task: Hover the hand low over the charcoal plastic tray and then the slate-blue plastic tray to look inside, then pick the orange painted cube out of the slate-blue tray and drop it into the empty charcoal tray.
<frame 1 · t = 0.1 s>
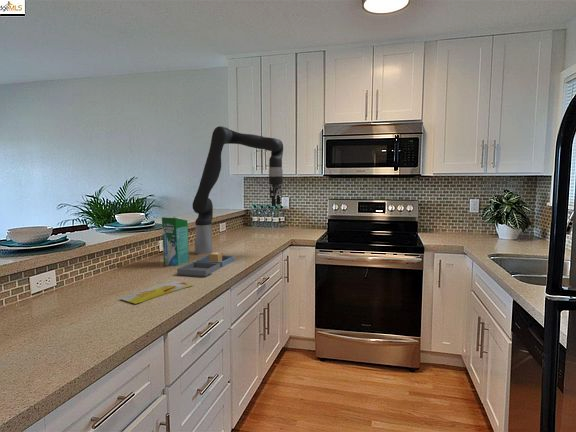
hand: (276, 205, 205), 29 cm above the worktop, tool pointing down, fingers open, 8 cm apart
orange cube: (215, 262, 193), point 1 cm above the worktop, touching slate-blue tray
slate-blue tray: (215, 264, 193), on the worktop
food package: (158, 294, 146), on the worktop
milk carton: (176, 264, 193), on the worktop
charcoal tray: (199, 272, 176), on the worktop
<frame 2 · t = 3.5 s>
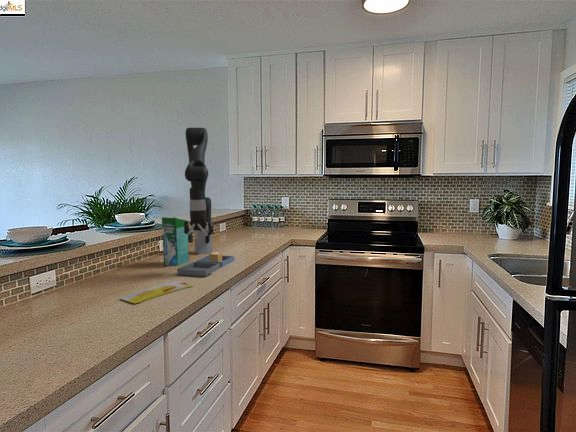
hand: (199, 243, 176), 14 cm above the worktop, tool pointing down, fingers open, 8 cm apart
nothing on the worktop moved.
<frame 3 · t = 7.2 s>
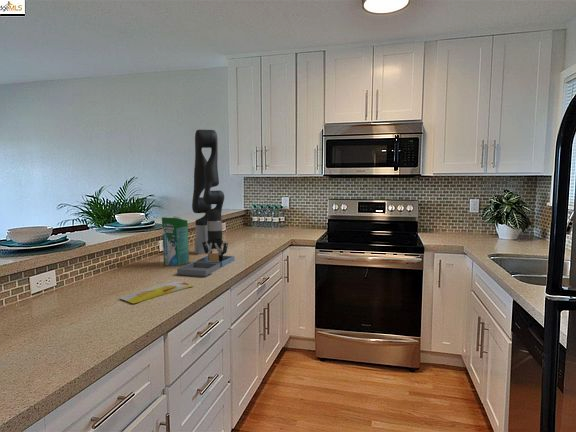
hand: (215, 261, 193), 1 cm above the worktop, tool pointing down, fingers closed on orange cube, 5 cm apart
orange cube: (215, 262, 193), point 1 cm above the worktop, touching gripper, slate-blue tray
everything else where it was.
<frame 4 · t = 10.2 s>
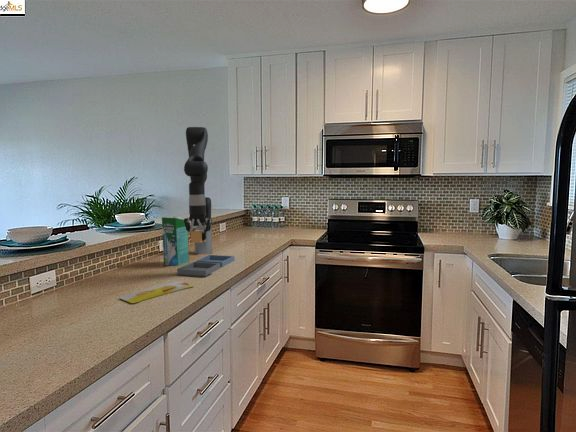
hand: (198, 240, 175), 16 cm above the worktop, tool pointing down, fingers closed on orange cube, 5 cm apart
orange cube: (198, 241, 175), point 15 cm above the worktop, touching gripper
everything else where it was.
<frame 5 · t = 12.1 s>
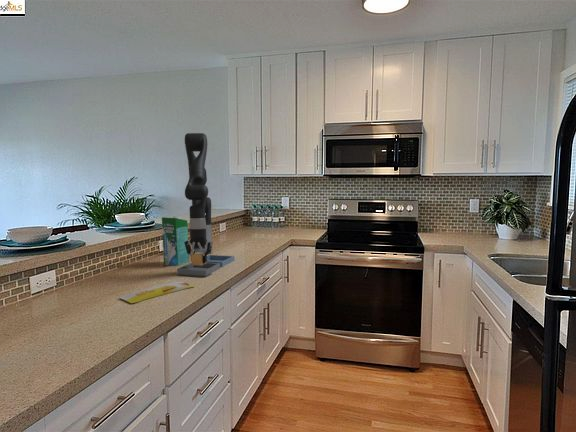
hand: (199, 262, 176), 5 cm above the worktop, tool pointing down, fingers closed on orange cube, 5 cm apart
orange cube: (199, 264, 176), point 4 cm above the worktop, touching gripper
everything else where it was.
when the fingers open (3 cm above the worktop, at t = 13.4 s): orange cube drops 1 cm, resting on charcoal tray.
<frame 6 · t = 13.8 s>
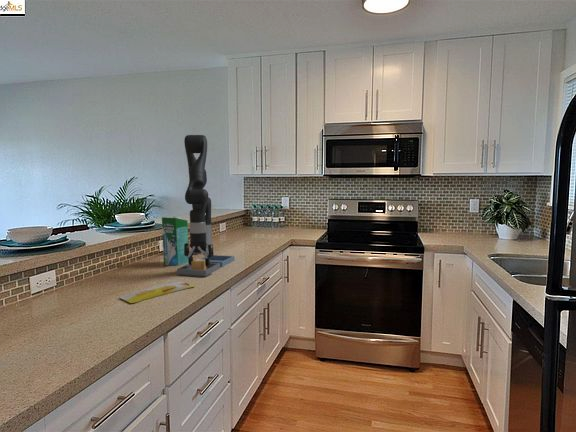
hand: (199, 265, 176), 3 cm above the worktop, tool pointing down, fingers open, 8 cm apart
orange cube: (199, 270, 176), point 1 cm above the worktop, touching charcoal tray
everything else where it was.
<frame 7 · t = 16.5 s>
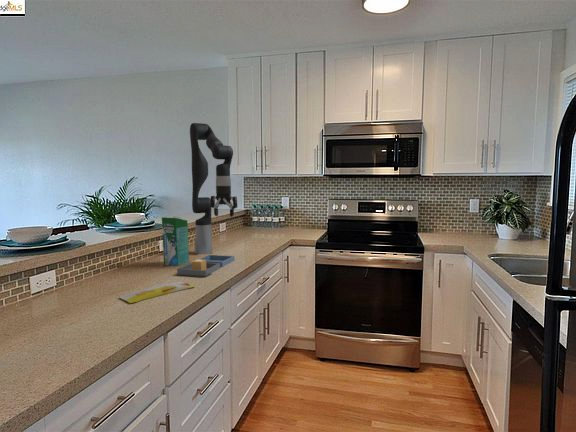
hand: (224, 216, 192), 25 cm above the worktop, tool pointing down, fingers open, 8 cm apart
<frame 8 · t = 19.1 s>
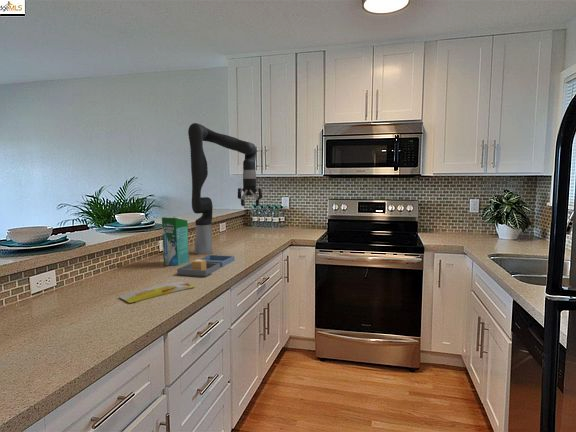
hand: (250, 206, 213), 28 cm above the worktop, tool pointing down, fingers open, 8 cm apart
at the end: orange cube inside the target area on the charcoal tray (0.1 cm from its centre), point 0.6 cm above the charcoal tray's base; orange cube tilted 0°; the gripper is holding nothing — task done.
